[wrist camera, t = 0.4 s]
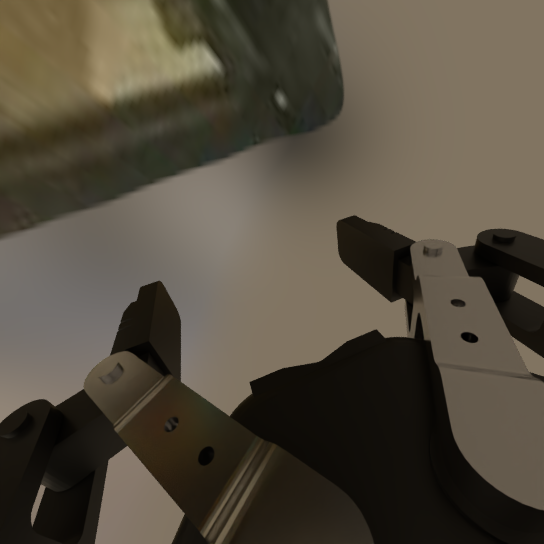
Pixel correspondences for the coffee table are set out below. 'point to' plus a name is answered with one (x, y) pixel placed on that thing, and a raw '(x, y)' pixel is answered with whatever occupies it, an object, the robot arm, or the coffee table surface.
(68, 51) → the coffee table surface
